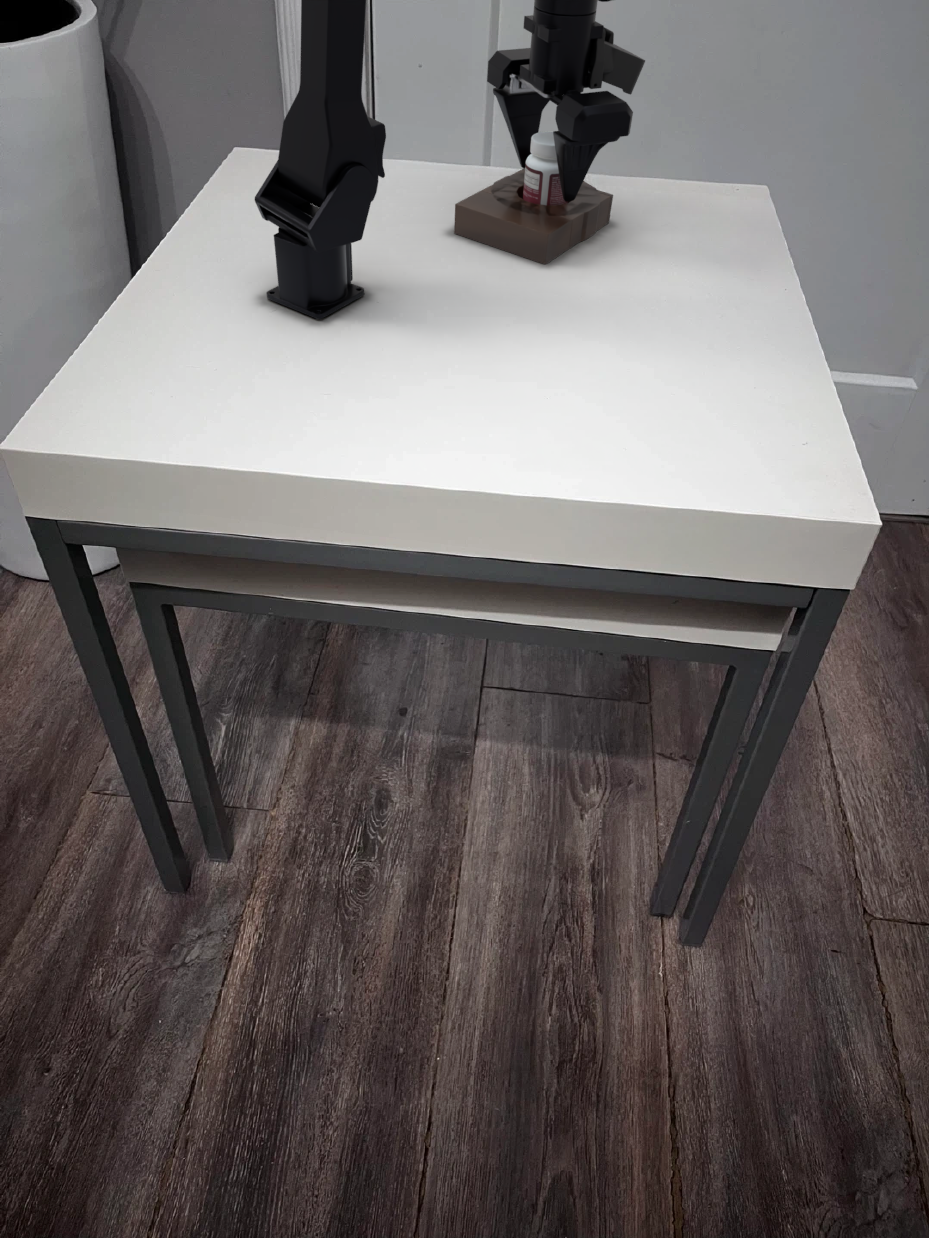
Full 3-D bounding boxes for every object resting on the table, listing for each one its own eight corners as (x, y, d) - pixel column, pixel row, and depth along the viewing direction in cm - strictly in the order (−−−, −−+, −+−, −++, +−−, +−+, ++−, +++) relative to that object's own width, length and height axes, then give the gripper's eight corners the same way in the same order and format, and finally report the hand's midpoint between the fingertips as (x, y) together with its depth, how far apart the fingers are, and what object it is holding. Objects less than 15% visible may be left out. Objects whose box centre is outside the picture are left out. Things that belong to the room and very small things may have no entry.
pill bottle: (566, 215, 104) (576, 131, 98) (564, 233, 100) (574, 148, 94) (521, 211, 104) (529, 127, 98) (518, 229, 100) (526, 144, 95)
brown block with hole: (546, 265, 95) (550, 235, 93) (452, 233, 99) (453, 203, 97) (616, 220, 103) (620, 191, 101) (526, 192, 108) (528, 164, 105)
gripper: (696, 30, 85) (662, 208, 96) (589, -21, 97) (570, 144, 108) (587, 39, 81) (565, 223, 92) (489, -15, 93) (480, 155, 104)
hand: (546, 183), depth 99 cm, fingers open, 9 cm apart
